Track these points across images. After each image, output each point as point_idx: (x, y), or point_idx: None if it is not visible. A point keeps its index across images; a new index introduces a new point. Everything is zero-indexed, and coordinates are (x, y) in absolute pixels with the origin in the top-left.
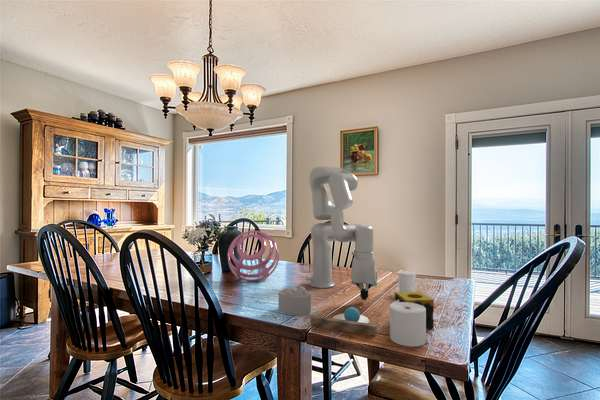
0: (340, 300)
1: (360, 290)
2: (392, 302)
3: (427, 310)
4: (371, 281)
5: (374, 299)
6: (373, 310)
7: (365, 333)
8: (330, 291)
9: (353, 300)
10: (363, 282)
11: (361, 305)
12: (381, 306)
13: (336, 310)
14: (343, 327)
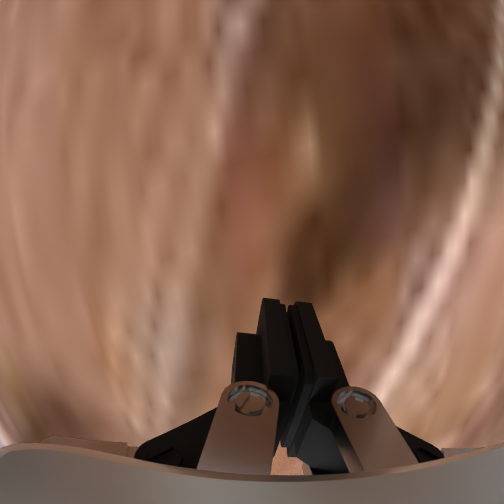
0: (479, 311)
1: (351, 393)
2: None
3: None
4: (42, 501)
5: (192, 413)
6: (153, 73)
7: None
8: (479, 442)
9: (380, 348)
10: (343, 492)
11: (302, 212)
12: (90, 237)
13: (492, 31)
14: None
